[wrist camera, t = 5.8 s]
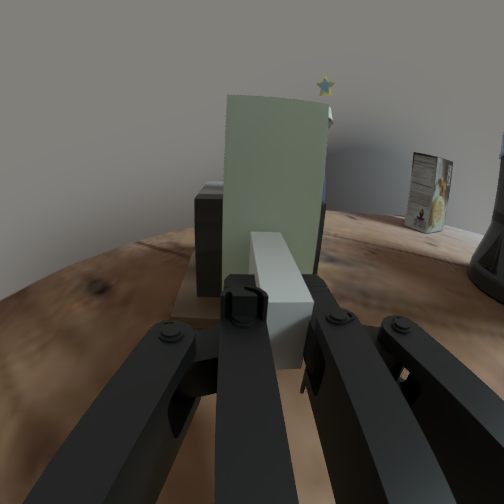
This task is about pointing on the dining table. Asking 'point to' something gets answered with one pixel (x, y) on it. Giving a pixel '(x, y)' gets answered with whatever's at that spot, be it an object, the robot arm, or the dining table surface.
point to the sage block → (272, 176)
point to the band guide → (211, 262)
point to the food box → (428, 193)
